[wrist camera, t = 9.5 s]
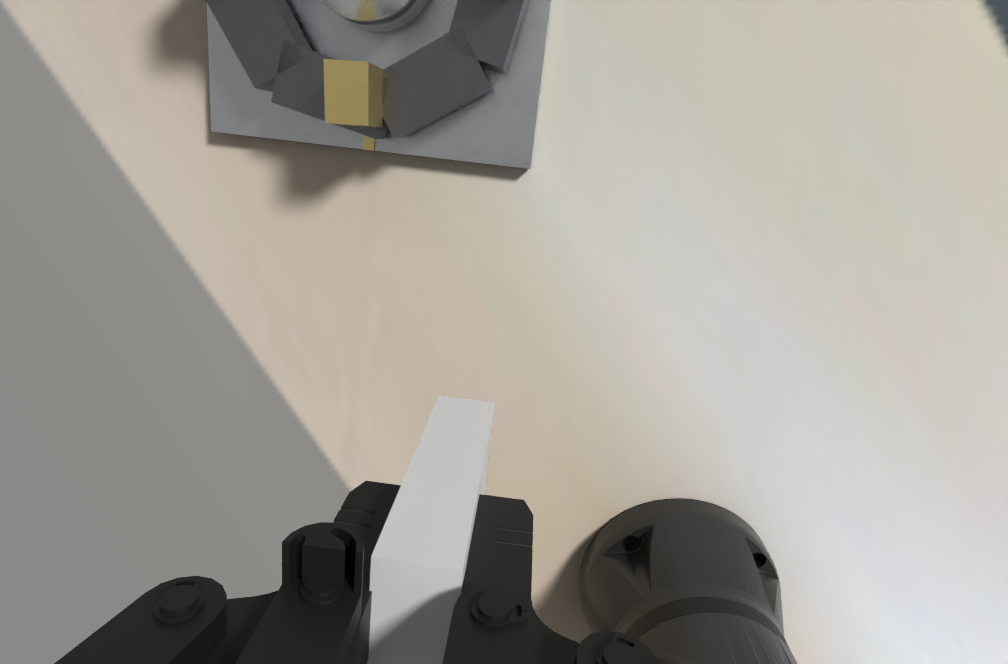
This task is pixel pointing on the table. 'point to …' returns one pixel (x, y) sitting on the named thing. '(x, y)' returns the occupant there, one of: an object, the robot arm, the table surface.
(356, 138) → the base plate
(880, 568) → the table surface
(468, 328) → the table surface
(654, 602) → the robot arm
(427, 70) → the octagonal block ring
